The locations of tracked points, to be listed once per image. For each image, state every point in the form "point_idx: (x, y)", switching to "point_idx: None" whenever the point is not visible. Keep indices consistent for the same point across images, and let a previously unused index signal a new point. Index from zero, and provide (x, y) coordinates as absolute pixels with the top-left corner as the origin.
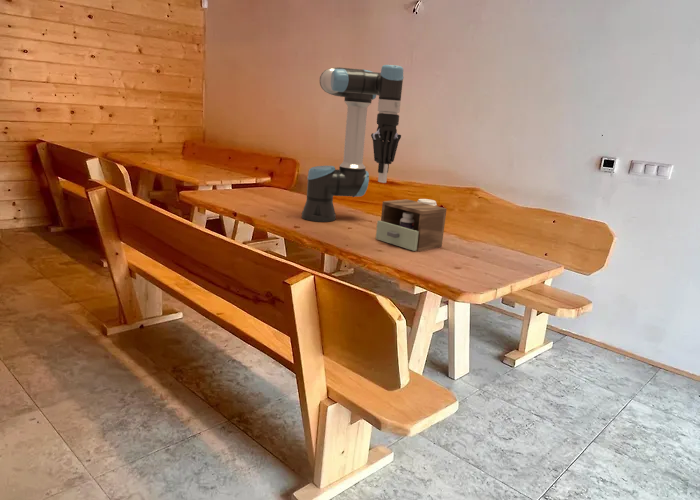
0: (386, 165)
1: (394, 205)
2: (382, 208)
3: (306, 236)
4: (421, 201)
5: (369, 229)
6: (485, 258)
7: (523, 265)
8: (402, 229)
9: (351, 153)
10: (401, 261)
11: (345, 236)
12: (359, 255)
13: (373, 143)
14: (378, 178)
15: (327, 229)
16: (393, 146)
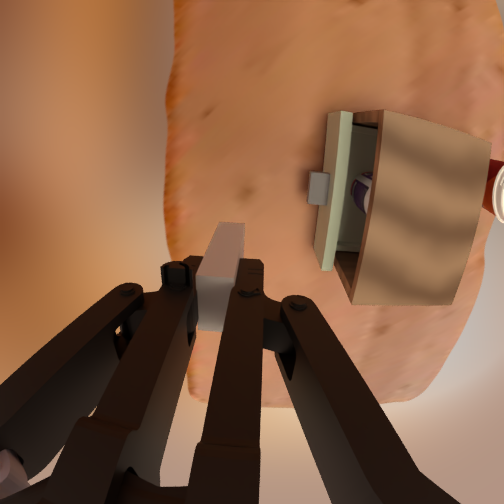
0: (215, 325)
1: (375, 174)
2: (374, 112)
3: (178, 6)
4: (501, 191)
5: (400, 38)
6: (386, 342)
7: (388, 382)
8: (328, 219)
9: None
10: None
11: (276, 43)
12: (170, 196)
13: (8, 386)
14: (216, 230)
15: None
16: (320, 449)
